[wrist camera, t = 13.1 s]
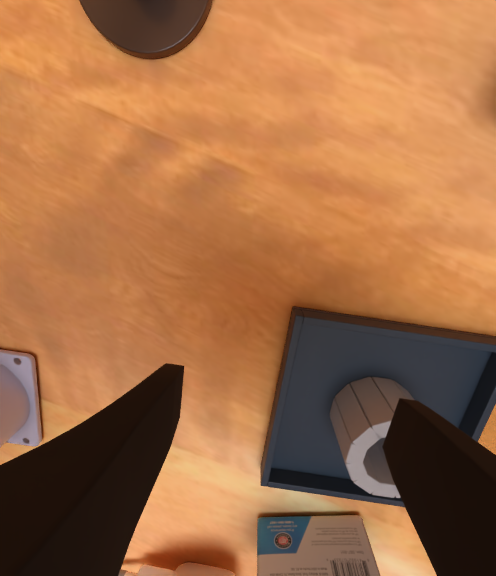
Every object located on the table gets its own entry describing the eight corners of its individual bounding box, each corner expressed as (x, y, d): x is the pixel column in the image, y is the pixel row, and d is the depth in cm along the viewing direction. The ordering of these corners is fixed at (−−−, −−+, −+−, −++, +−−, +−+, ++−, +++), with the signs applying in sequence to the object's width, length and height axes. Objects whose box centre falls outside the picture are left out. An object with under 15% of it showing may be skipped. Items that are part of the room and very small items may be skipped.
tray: (260, 466, 22) (260, 485, 21) (292, 306, 18) (295, 315, 17) (431, 491, 22) (444, 513, 21) (500, 336, 18) (522, 349, 17)
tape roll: (322, 437, 21) (336, 490, 17) (340, 371, 19) (360, 413, 15) (398, 448, 21) (429, 504, 17) (422, 383, 19) (463, 428, 15)
